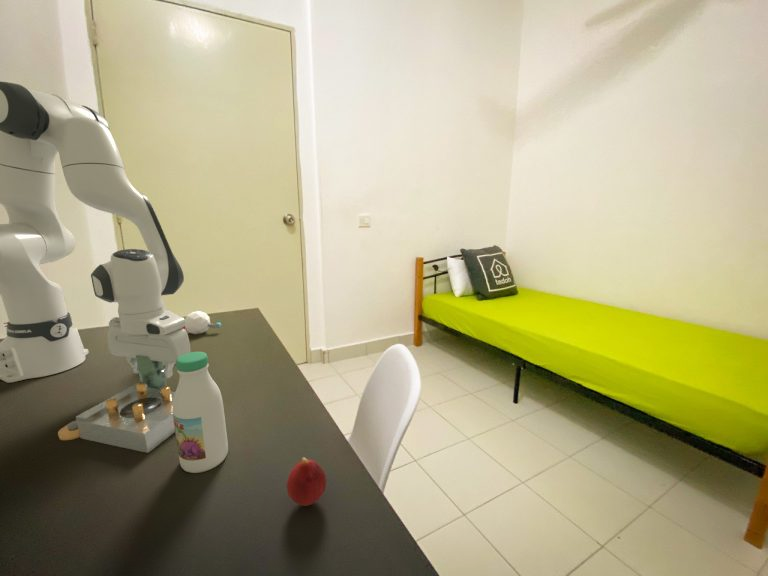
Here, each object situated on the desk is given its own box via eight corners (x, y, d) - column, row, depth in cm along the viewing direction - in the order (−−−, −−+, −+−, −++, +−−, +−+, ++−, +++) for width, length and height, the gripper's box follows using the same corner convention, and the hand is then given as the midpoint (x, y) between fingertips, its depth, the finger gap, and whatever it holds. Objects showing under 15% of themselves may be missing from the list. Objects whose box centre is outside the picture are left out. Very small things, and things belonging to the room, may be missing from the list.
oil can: (137, 394, 80) (128, 344, 77) (155, 384, 85) (147, 336, 82) (154, 397, 79) (145, 346, 76) (172, 386, 84) (164, 338, 81)
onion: (328, 486, 55) (327, 444, 53) (323, 518, 50) (322, 473, 48) (293, 487, 55) (290, 445, 53) (284, 519, 49) (280, 473, 47)
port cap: (52, 439, 65) (49, 429, 65) (80, 423, 70) (78, 413, 70) (71, 443, 64) (68, 433, 64) (99, 426, 69) (96, 417, 68)
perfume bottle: (191, 318, 122) (226, 321, 125) (183, 337, 117) (220, 340, 119) (186, 305, 117) (222, 308, 119) (177, 325, 111) (216, 328, 113)
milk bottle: (216, 437, 66) (205, 343, 61) (236, 456, 61) (225, 355, 56) (173, 459, 60) (156, 357, 55) (191, 482, 56) (175, 372, 51)
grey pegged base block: (80, 438, 65) (73, 406, 64) (141, 401, 78) (136, 373, 76) (148, 452, 62) (142, 419, 60) (200, 411, 74) (196, 383, 72)
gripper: (94, 320, 77) (105, 375, 80) (169, 329, 73) (177, 386, 76) (121, 312, 83) (130, 363, 86) (191, 319, 79) (198, 373, 82)
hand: (153, 374), depth 81 cm, fingers open, 7 cm apart
